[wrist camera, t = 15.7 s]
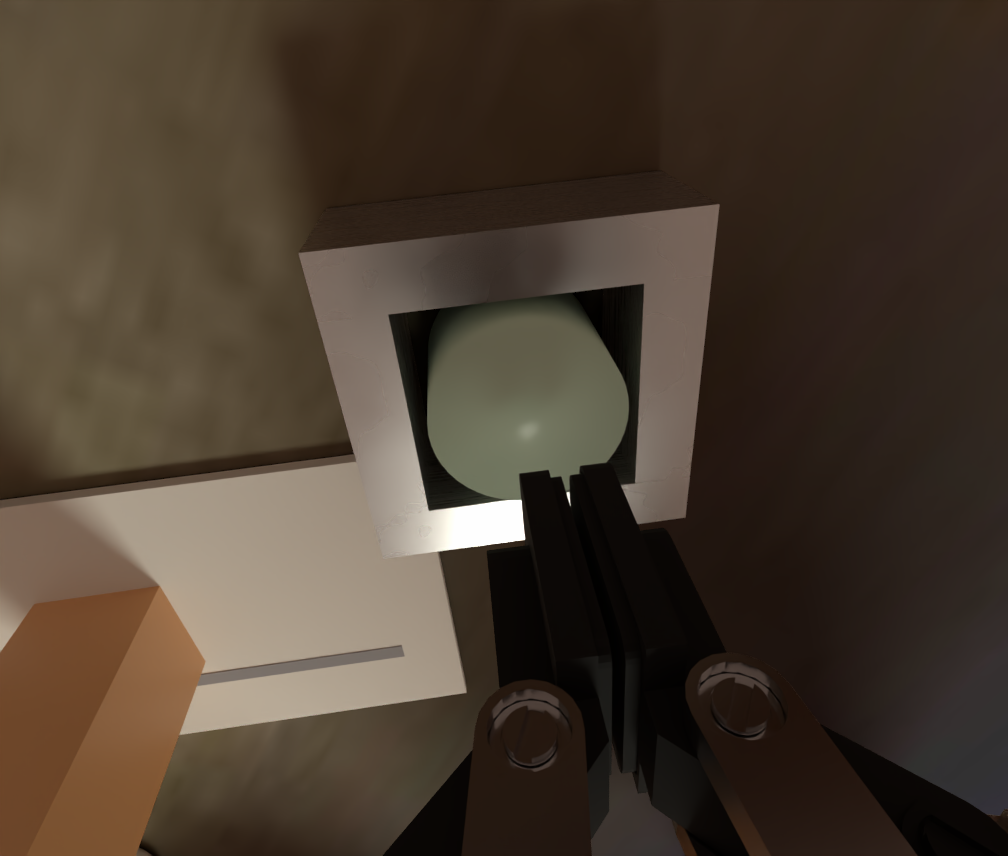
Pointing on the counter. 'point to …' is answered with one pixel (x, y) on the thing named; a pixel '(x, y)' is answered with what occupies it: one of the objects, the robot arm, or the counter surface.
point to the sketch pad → (249, 585)
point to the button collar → (506, 276)
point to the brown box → (90, 721)
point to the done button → (521, 392)
